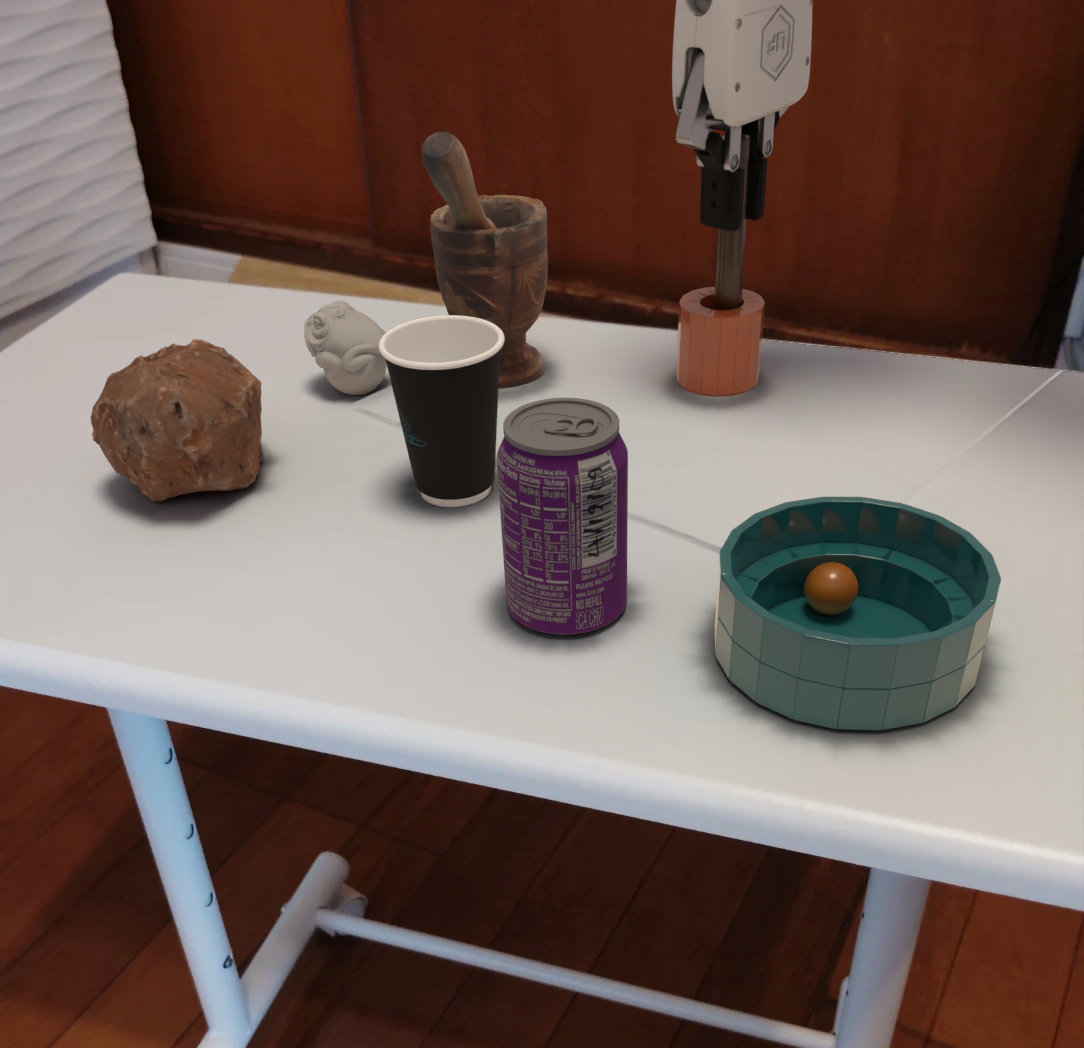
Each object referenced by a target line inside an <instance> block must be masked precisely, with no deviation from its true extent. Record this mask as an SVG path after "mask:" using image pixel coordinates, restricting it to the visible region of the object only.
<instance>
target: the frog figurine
mask: <svg viewBox="0 0 1084 1048" xmlns="http://www.w3.org/2000/svg"><path fill="white" fill-rule="evenodd" d="M386 332H387V331H386V330H384V329H383V328H381V326H379V324H378V323H377V322H376V321H375V320H373V318H371V317H370V316H368V315H367V314H365V313H363V312H361V311H359V310H356V309H355V308H354V307H353V306H351V305H349V303H348V302H347V301H345V300H335V301H332V302H330V303H329V304H325V305H323V306H321V307H320V308H319V309H318V310H317V311H316V312H314V313H311V315H310V316H309V317H308V318H306V320H305V321H304V324H303V335H304V342H305V345H306V348H307V351H308V352H309V353H310V355H311V357H313V358H314V359H315V363H316V365H317V366H318V367H319V368H321V369H323V375H324V378H325V379H326V380H327V381H328V382H329V383H330V384H331V386H332V387H334V388H335V390H337V391H339V392H341V393H342V394H346V395H348V396H362V395H366V394H369V393H372V392H373V391H374V390H376V389H377V388H378V387H379V386H380V384H381V383H382V382H383V380H384V378H385V376H386V373H387V369H388V368H387V364H386V360H385V358H384V357H383V356H382V355H381V353H380V351H379V341H380V339H381V338H382V336H383V335H384V334H385V333H386Z"/></svg>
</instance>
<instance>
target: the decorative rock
mask: <svg viewBox="0 0 1084 1048" xmlns="http://www.w3.org/2000/svg"><path fill="white" fill-rule="evenodd" d="M262 407H263V406H262V381H261V380H260V379H259V378H257V376H255V375H254V374H253V373H252V372H251V371H250V369H248V368H247V367H246V366H245V365H243V363H242V362H241V361H240V360H239V359H237V358H236V357H235V356H233V354H232V353H228V350H226V348H225V347H223V346H222V347H221V346H219V345H215V344H213V343H211V342H209V341H206V340H203V339H198V338H197V339H196V338H194V339H192V340H191V341H190V343H188V344H186V345H180V344H176V343H174V342H173V343H172V344H170V345H168V346H164V347H161V348H160V349H158V350H157V351H155V352H153V353H150V354H149V355H147V356H143V355H142V354H141V355H139V356H137V357H134V359H133V360H132V362H130V364H128V365H127V366H125V367H124V368H122V369H120V370H118V371H115V372H111V373H110V375H108V377H107V378H106V380H105V384H104V386H103V389H102V391H101V393H100V395H99V397H98V399H97V400H96V401H95V403H94V405H93V406H92V410H91V415H90V424H91V426H92V433H91V435H92V441H93V442H94V443H96V445H98V446H99V448H100V449H101V452H102V453H103V455H104V457H105V458H106V460H107V462H108V463H109V465H110V466H111V468H112V469H113V471H114V472H115V473H116V474H118V475H120V476H122V477H125V478H127V479H129V483H130V484H132V485H134V486H136V487H137V488H138V489H139V491H140V493H142V494H143V495H144V496H145V497H146V498H147V499H148V500H149V501H150V502H164V501H166V500H169V499H171V498H175V497H178V496H181V495H189V494H193V493H200V492H211V491H212V492H213V491H215V492H220V491H221V492H224V491H225V492H231V491H242V490H243V489H245V488H248V487H249V486H251V484H253V483H254V482H255V481H256V477H257V476H258V475H259V473H260V462H261V461H262V460H264V459H265V455H264V452H263V451H262V449H263V446H262V437H263V430H262V412H263V409H262Z"/></svg>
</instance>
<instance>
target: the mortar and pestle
mask: <svg viewBox="0 0 1084 1048" xmlns="http://www.w3.org/2000/svg"><path fill="white" fill-rule="evenodd" d="M421 157H422V163H423V166H424V168H425V170H426V172H427V174H428V177H429V179H430V180H431V182H432V184H433V186H434V188H435V189H436V191H437V192H438V193H439V195H440V196H441V198H442V199H443V200H444V201H445V203H446V205H444V206H442V207H438V208H437V209H435V210H434V211H433V213H431V214H430V219H429V226H430V227H429V230H430V236H431V237H430V240H431V245H432V251H433V258H434V268H435V274H436V281H437V284H438V288H439V291H440V296H441V299H442V301H443V303H444V305H445V308H446V311H447V315H457V316H469V317H475V318H480V319H483V320H486V321H489V322H491V323H493V324H495V325H496V326H498V327H499V328H500V329H501V330H502V332H503V334H504V337H505V340H504V344H503V346H502V348H501V349H500V365H499V388H498V390H499V389H509V388H517V387H520V386H524V385H527V384H530V383H533V382H535V381H537V380H539V379H540V378H542V376H543V375H544V374H545V373H546V371H547V368H546V363H545V359H544V356H543V354H542V353H541V352H540V351H539V349H538V348H536V347H534V346H532V345H530V344H529V343H528V342H527V333H528V332H529V330H530V329H531V328H532V326H533V325H535V323H536V322H537V320H538V319H539V317H540V315H541V312H542V310H543V307H544V301H545V297H546V293H547V289H548V288H547V286H548V273H549V272H548V270H549V254H548V253H549V252H548V211H547V207H546V206H545V205H544V203H543V201H542V200H540V199H538V198H533V197H532V198H531V197H530V196H522V195H515V194H509V195H507V194H495V195H485V194H483V195H478V192H477V189H476V184H475V178H474V175H473V170H472V168H471V167H472V166H471V163H470V160H469V158H468V154H467V152H466V149H465V147H464V146H463V144H462V142H461V141H460V140H459V139H458V138H457V137H456V136H455V135H454V134H452V133H450V132H449V131H438V132H435V133H434V132H433V133H432V134H430V135H429V136H427V137H426V139H425V140H424V141H423V143H422V145H421Z"/></svg>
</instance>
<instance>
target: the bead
mask: <svg viewBox="0 0 1084 1048" xmlns="http://www.w3.org/2000/svg"><path fill="white" fill-rule="evenodd" d="M804 595H805V598H806V600H807V602H808V604H809V605H810V607H811V608H813V609H814V610H815V611H817V612H818V613H821V614H824V615H837V614H841V613H843V612H845V611H846V610H848V609H849V608H850V607H851V606H852V605H853V603H854V602H855V600H856V598H857V595H858V581H857V578H856V576H855V574H854V573H853V572H852V571H851V570H850V569H849V568H848V567H847V566H845V565H843V564H840V563H836V562H828V563H823V564H821V565H819V566H817V567H816V568H814V569H813V570H812V571H811V572H810V573H809V575H808V576H807V578H806V581H805V585H804Z"/></svg>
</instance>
